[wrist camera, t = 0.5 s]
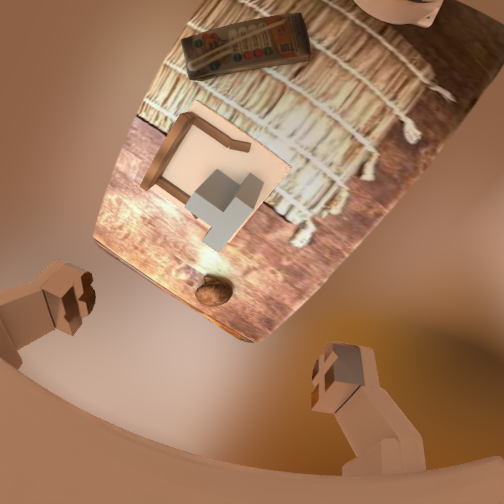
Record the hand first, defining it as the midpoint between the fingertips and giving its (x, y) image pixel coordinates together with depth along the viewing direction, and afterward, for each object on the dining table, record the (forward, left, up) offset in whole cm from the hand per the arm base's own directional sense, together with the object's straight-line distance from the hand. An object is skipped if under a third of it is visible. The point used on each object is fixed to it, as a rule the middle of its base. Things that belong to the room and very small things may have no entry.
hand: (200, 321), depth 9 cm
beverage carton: (-8, -13, -43) cm, 46 cm away
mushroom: (+34, +9, -43) cm, 56 cm away
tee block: (+13, -1, -42) cm, 44 cm away
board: (+13, -5, -43) cm, 45 cm away
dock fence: (+13, -9, -42) cm, 45 cm away
